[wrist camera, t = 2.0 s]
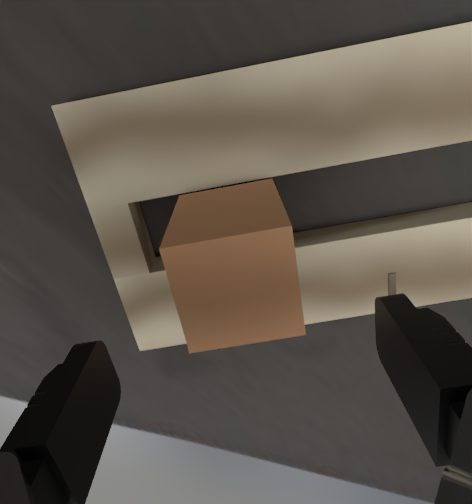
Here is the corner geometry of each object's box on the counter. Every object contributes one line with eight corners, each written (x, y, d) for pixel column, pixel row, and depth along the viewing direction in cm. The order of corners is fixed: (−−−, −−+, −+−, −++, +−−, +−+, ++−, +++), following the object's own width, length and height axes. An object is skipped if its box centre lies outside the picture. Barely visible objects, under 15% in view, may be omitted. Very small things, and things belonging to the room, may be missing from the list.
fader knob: (185, 180, 21) (158, 248, 13) (266, 165, 20) (291, 225, 12) (202, 254, 22) (189, 353, 15) (278, 240, 22) (305, 334, 14)
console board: (67, 102, 19) (50, 105, 17) (708, -26, 17) (767, -38, 16) (146, 330, 25) (139, 352, 23) (630, 251, 23) (666, 267, 21)
